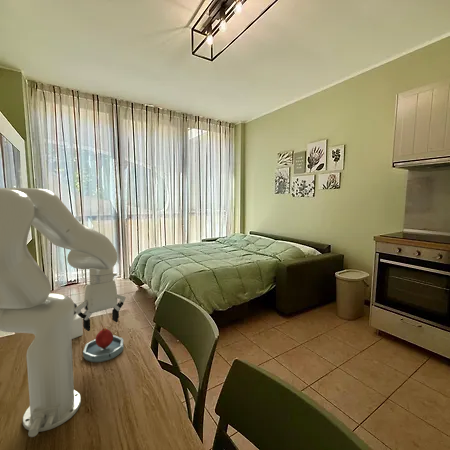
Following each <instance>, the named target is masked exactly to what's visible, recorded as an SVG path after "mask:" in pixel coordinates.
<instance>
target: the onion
mask: <svg viewBox="0 0 450 450" xmlns="http://www.w3.org/2000/svg"><path fill="white" fill-rule="evenodd" d="M113 336H114V335H113V332H112V331H111V330H110V329H108V328H106V327H103V328H102V329H101V330H100V331H98V333H97V335H96V336H95V339H96V344H97V345H98V346H99V347H101V348H103V349H105V348H107V347H108V346H109V345H110V344H111V343H112V341H113Z"/></svg>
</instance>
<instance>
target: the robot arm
mask: <svg viewBox="0 0 450 450" xmlns="http://www.w3.org/2000/svg"><path fill="white" fill-rule="evenodd" d="M31 227H33V228H34V229H36V230H37V231H38V232H39V233H40V234H41V235H42V236H43V237H45V238H46V239H47V240H48V242H50V243H52V245H54V246H55V247H56V246H57V247H59V248H63V249H65V250H69V251H68V253H67V254H68V255H67V259H66V260H67V263H68V265H69V266H70V267H72V268H74V269H78V270H89V282H87V283H86V287H85V291H84V300H83V302H81V303H80V304H78V305H77V307H76V308H75V306H74V301H73V299H72V298H71V297H70V296H68V295H65V294H61V293H56V292H55V293H53V292H51V291H52V287H51V286H52V285H51V282H50V280H49V277H47V275H46V274H45V272H44V271H43V270H42V268H41V267H40V265H39V264H38V263H37V261H36V260H35V259H34V257H33V255H32V254H31V252H30V251H29V248H28V237H29V233H30V230H31ZM117 261H118V251H117V249H116V247H115V246H114V244H113V243H112V241H111V240H110V239H109V238H108V237H107V236H105V235H104V234H103V233H101V232H98V231H97V230H95V229H94V228H91V227H89V226H87V225H85V224H82V223H81V222H79V220H77V218H76V217H75V216H74V215H73V213H72V212H71V211H70V210H69V208H68V207H67V206H66V205H65V204H64V202H63V201H62V200H61V199H60V197H58V195H57V194H56V193H54V192H53V191H51V190H49V189H46V188H38V187H36V188H35V187H34V188H33V187H32V188H31V187H0V332H4V333H16V334H18V333H19V334H21V333H23V334H32V335H34V338H33V340H32V342H31V344H30V345H29V346H28V348H27V350H26V366H27V367H26V368H27V384H28V394H29V396H28V397H29V399H28V400H29V406H28V408H27V409H26V410H25V412H24V414H23V416H22V425H23V428H24V429H26V431H28V433H27V434H28V435H27V436H28V437H30V438H34V437H36V436H37V435H38V434H39V432H46V431H50V430H52V429H55V428H57V427H59V426H61V425H62V424H65V422H67V421H69V420H70V419H71V418H72V417H73V416H75V414H76V413H77V412H78V410H79V408H80V407H81V402H82V398H81V397H82V396H81V394H80V392H78V391H77V390H75V389H74V388H75V387H74V367H73V366H74V364H73V348H72V347H73V346H72V344H73V343H72V340H73V339H72V338H71V336H72V323H73V317H74V311H75V312H76V313H77V315H78V316H80V317H81V318H82V325H83V329H84V330H85V331H87V332H90V331H91V319H90V317H91V315H92V314H94V313H98V312H101V311H103V312H104V311H105V310H106V311H107V310H108V309H112V312H111V313H112V317H111V319H112V321H113V322H115V323H117V322H118V323H119V317H120V315H119V314H120V311H121V308H122V307H123V305H124V303H125V300H126V299H127V298H126V296H125V295H121V294H118V290H117V284H116V281H115V278H114V277H117V275H118V273H117V272H114V267H115V266H116V265H117ZM118 299H119V302H118ZM83 309H84V310H85V311H84V312H82V310H83Z"/></svg>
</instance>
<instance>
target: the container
mask: <svg viewBox="0 0 450 450" xmlns="http://www.w3.org/2000/svg"><path fill="white" fill-rule="evenodd" d="M74 306H75V308H76V307H77V306H78V305H77V304H76V303H74ZM83 329H84V327H83V318H81V317H80V316H78V315H77V313H76V312H75V311H74V317H73V323H72V336H71V338H72V340H74V339H76V338H78V337H79V338H80V336H83V334H84V330H83Z"/></svg>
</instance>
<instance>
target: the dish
mask: <svg viewBox="0 0 450 450" xmlns="http://www.w3.org/2000/svg"><path fill="white" fill-rule="evenodd" d="M124 345H125V344H124V338H123V337H120V336H117V335H113V341H112V343H111V344H110V345H109V346H108V347H107V348H105V349H103V348H101V347H99V346H98V345H97V344H96V338H95V339H93V340H90V341H89V342H87V343H86V344H85V345H84V349H83V350H82V355H83V358H84V360H85V361H87V362H90V363H102V362H107V361H109V360H112V359H114V358H117V357H118V356H119V355H120V354H121V353H122V352H123V350H124V347H125V346H124Z"/></svg>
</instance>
